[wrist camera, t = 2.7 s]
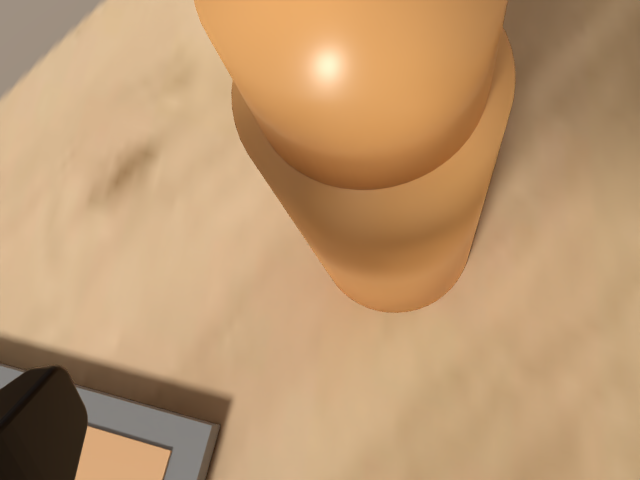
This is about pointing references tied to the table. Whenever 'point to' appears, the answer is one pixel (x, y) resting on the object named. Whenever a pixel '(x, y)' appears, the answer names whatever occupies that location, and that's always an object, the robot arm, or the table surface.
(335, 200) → the peach capped bottle
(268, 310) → the table surface
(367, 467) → the table surface
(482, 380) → the table surface
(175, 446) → the pad
